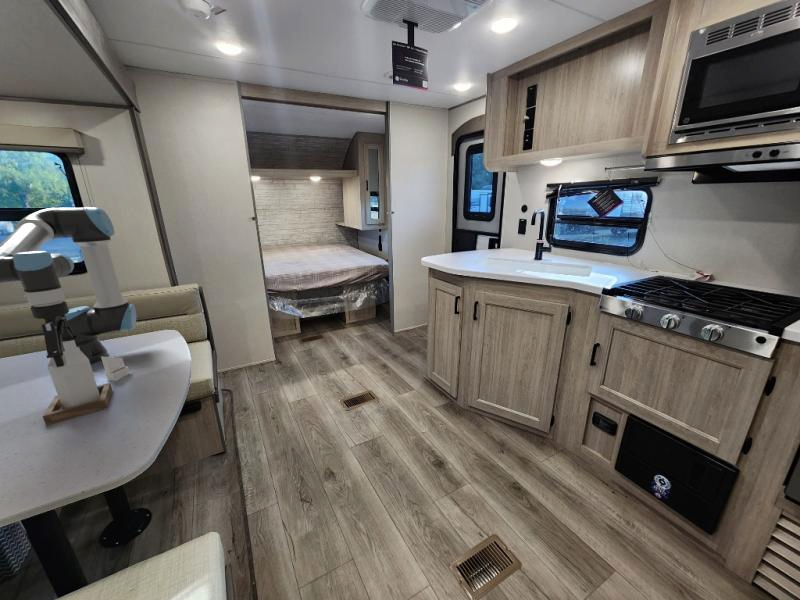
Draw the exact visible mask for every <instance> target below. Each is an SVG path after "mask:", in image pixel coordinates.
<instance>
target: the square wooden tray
mask: <svg viewBox="0 0 800 600" xmlns="http://www.w3.org/2000/svg"><path fill="white" fill-rule="evenodd" d="M97 388H98V391H99V394H100V399H99V400H96V401H92V402H88V403H84V404H80V405H77V406H73V407H69V408H62V406H61V403H60V400H59V398H58V395H55V396H54V397H53V399H52V401H51V402H50V403H49V405H48V407H47V408H46V410H45V412H44V413H43V415H42V418H43V419H42V420H43V421H44V425H45V426H48V425H52V424H56V423H59V422H63V421H67V420H69V419H74V418H78V417H80V416H85V415H88V414H92V413H96V412H99V411H104V410H106V409H108V408H109V404H110V400H111V397H112V393H113V388H112V385H111V382H108V383H103V384H100V385H97Z"/></svg>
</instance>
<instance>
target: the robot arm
mask: <svg viewBox="0 0 800 600" xmlns="http://www.w3.org/2000/svg"><path fill="white" fill-rule="evenodd" d="M114 227H115V226H114V225H113V223H112V220H111V219H110V217H109V215H108V213H107V212H106V211H105V210H104V209H102V208H100V207H90V206H84V207H83V206H82V207H49V208H44V209H40V210H38V211H34V212H32V213H29V214H28V215H26V216H24V217H23V218H22V219H20V220H19V221H18V222H17V224H16V226H15V230H14V231H13V232H12V233H11V234H10V235H8V236H7V237H6V238H5V239H4V240H2V242H1V243H0V284H3V283H4V284H5V283H13V282H14V283H15V282H21V285H22V288H23V291H24V295H23V298H25V299H27V301H28V305H30V311H31V313H32V316H33V318H34V319H38V320H41V319H42V320H44V323H43V324H41V329H42V333H43V336H44V341H45V348H46V354H47V355H46V356H45V357H46V358H47V359H51V358H52V361H53V363H54V366H55V369H56V372H57V375H58V377H60V376H65V375H69V374H71V371H70V368H69V365H68V362H67V359H66V356H65V354H63V352H64V351H67V350H70V349H73V348H77V347H79V349H80V351H81V352H82V353H83V354H84V355H85V356H86V357H87V358H88V359H89V362H90V364H93V363H95V362H99V361H102V359H101V356H103V357H109V352H108V349H107V348H106V347H105V346H104V345H103V343H102V342H101V341H100V339H99V337H98V336H100V335H108V334H114V333H123V332H126V331H131V330H133V329H134V328H135V327H136V324H137V310H136V309H137V308H136V307H135V305H134V304H131V303H130V302H129V300H128V299H126V298H124V297H123V295H122V292H121V287H120V284H119V281H118V276H117V274H116V270H115V266H114V263H113V259H112V254H111V253H110V252H111V251H110V248H109V246H108V245H109V243H110V241H112V239H111V237H112V236H114V235H115V230H114ZM63 238H64V239H69V238H70V239H71V240H72V242H73V244H75V245H77V246H79V248H80V251H81V255H82V259H83V261H84V264H85V267H86V270H87V274H88V277H89V280H90V283H91V287H92V291H93V293H94V296H95V300H96V302H95V303H94V304H93V305H92V306H93V307H92V308H91V307H90V306H88V305H85V306H84V305H83V306H78V307H73V308H70V309H69V306H68V304H67V301H65V300H66V297H65V293H64V290H63V288H62V285H61V282H60V278H64V277H67V276H68V275H69V274H70V273H72V272H73V270H74V268H75V263H74V261H73V260H72V259H71V257H69V256H67V255H66V254H64V253H63V254H62V253H50V252H49V251H47V250H39V249H40V248H41V246H42V245H43V244H45V243H49V242H50V241H51V240H54V239H63ZM129 303H130V304H129ZM90 308H91V309H90Z"/></svg>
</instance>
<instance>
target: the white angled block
mask: <svg viewBox="0 0 800 600" xmlns="http://www.w3.org/2000/svg"><path fill="white" fill-rule="evenodd" d="M101 361H102V365H103V368H104V371H105V376H106V379H107V381H110V380H113V381H112V382H116V380H117V381H118V379H119V380H120V378H121V379H123V378H125V377H127V376H129V375H131V371H130V366H125V362H124V358H123V357H114V356H107V357H103V356H101ZM128 374H129V375H128ZM126 375H127V376H126ZM124 376H125V377H124ZM122 377H123V378H122Z"/></svg>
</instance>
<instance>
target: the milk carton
mask: <svg viewBox="0 0 800 600" xmlns="http://www.w3.org/2000/svg"><path fill="white" fill-rule="evenodd" d="M63 354H65V356H66V359H67V362H68V365H69V368H70V371H71V374H69V375H65V376H60V377H58V375H57V372H56V369H55V366H54V363H53V361H52V358H50V360H49V362H48V364H47V369H48V371H49V374H50V377H51V381H52V383H53V387H54V388H55V391H56V394H57V395H56V396H58V398H59V400H60V403H61V406H62V408H69V407H73V406H77V405H80V404H84V403H88V402H92V401H96V400H99V399H100V394H99V391H98V388H97V386H98V385H97V381H96V378H95V376H94V375H95V374H94V373H93V372H94V371H93V368H92V365H91V363H90V362H89V359H88V358H87V357H86V356H85V355H84V354H83V353H82V352H81V351H80V349H79V347H77V348H73V349H70V350H67V351H64V352H63Z"/></svg>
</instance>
